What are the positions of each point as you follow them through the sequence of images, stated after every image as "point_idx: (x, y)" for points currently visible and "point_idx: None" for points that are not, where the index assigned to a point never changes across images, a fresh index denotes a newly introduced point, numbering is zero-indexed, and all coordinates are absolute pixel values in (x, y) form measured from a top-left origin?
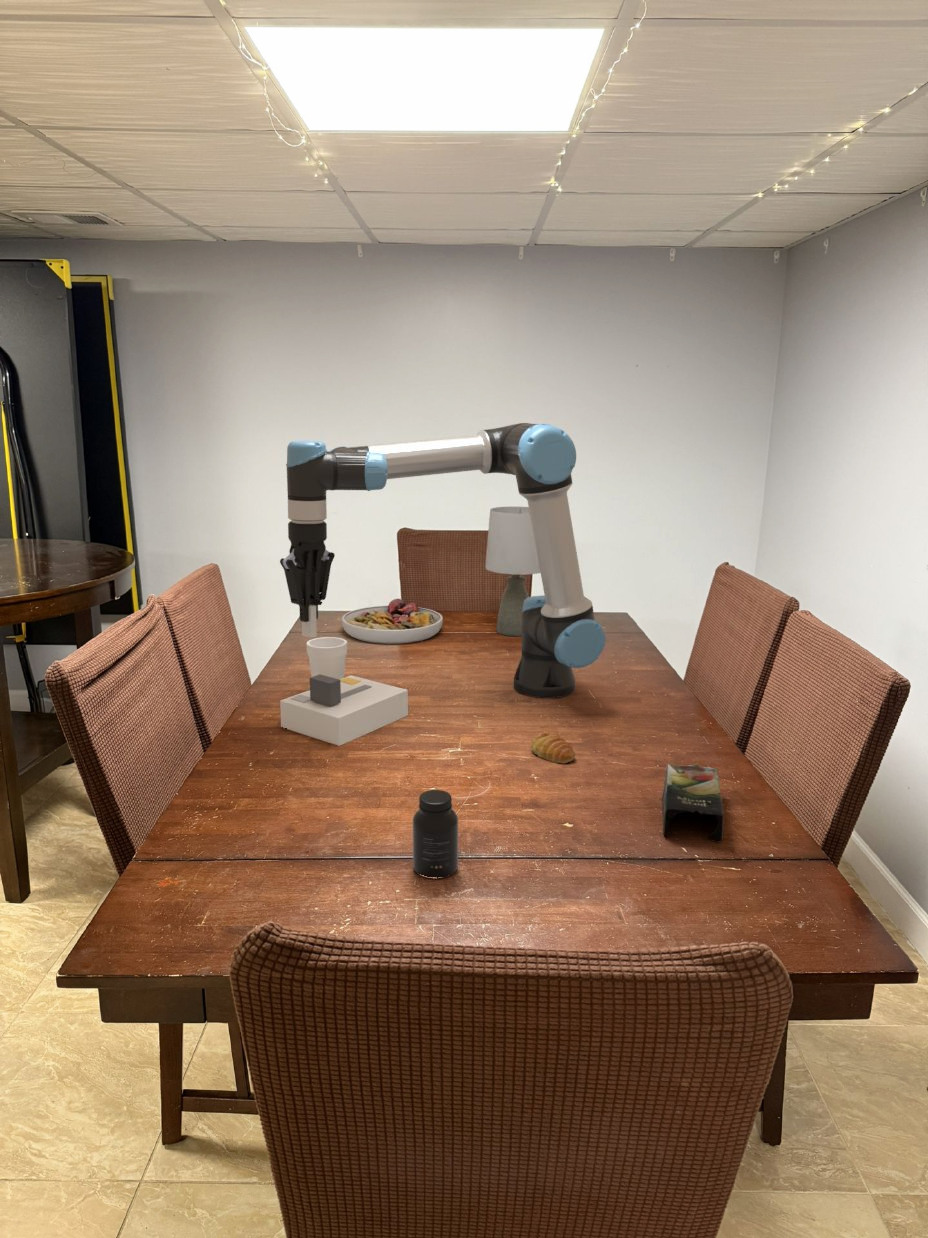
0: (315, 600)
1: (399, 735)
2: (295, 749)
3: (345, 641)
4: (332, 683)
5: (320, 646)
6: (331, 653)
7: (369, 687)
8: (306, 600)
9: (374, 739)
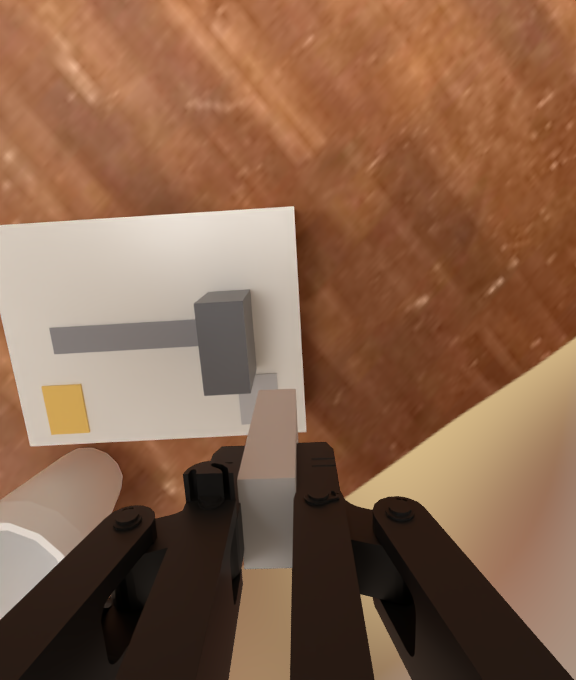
0: (231, 509)
1: (139, 140)
2: (374, 275)
3: None
4: (232, 301)
5: (13, 602)
6: (42, 517)
7: (59, 327)
8: (341, 516)
9: (204, 172)
